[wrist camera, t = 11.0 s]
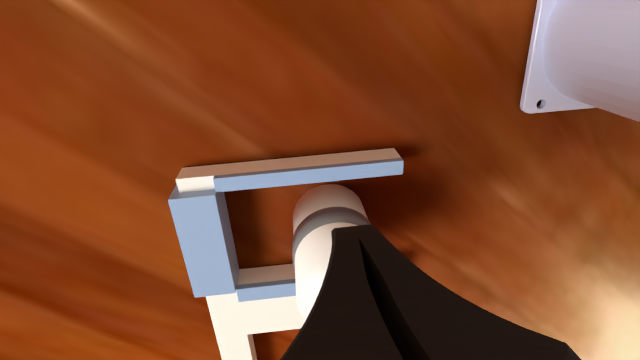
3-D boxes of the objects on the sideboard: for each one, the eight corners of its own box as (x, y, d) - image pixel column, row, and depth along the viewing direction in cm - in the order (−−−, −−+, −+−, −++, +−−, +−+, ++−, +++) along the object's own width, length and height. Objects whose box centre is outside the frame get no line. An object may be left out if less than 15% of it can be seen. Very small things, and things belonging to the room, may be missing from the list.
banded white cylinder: (375, 191, 23) (410, 264, 17) (352, 252, 25) (375, 338, 18) (302, 175, 22) (309, 245, 16) (283, 239, 24) (283, 325, 18)
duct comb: (393, 147, 22) (405, 162, 20) (389, 371, 30) (396, 398, 28) (175, 168, 21) (163, 185, 19) (231, 391, 29) (228, 419, 27)
